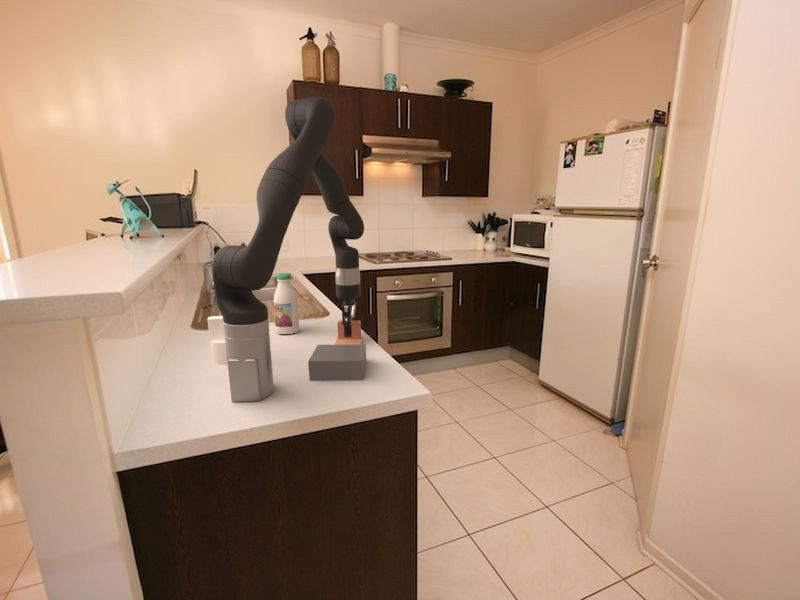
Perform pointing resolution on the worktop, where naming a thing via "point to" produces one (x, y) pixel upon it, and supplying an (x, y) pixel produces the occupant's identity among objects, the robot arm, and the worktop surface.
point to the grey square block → (338, 362)
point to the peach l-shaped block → (354, 338)
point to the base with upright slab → (217, 339)
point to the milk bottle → (285, 306)
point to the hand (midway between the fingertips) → (349, 332)
